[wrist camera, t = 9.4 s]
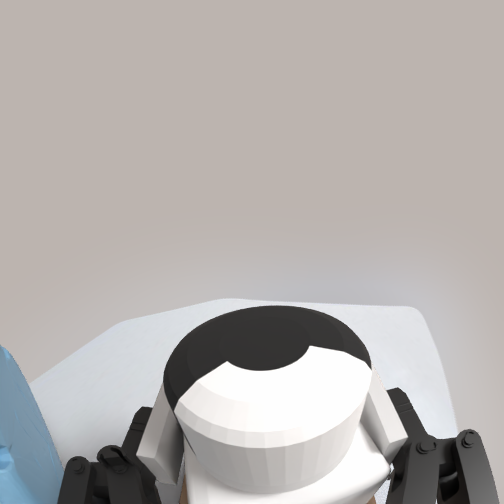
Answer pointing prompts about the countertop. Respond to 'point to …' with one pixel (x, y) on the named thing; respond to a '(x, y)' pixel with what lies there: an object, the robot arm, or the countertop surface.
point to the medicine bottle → (274, 409)
